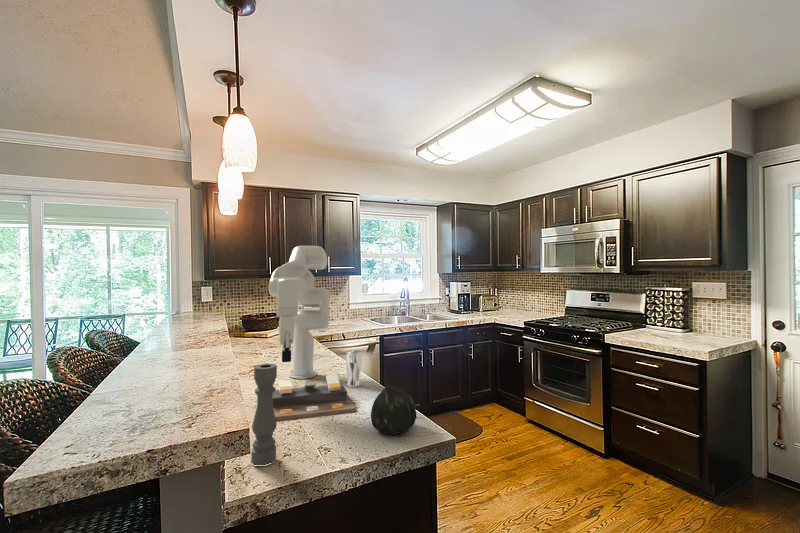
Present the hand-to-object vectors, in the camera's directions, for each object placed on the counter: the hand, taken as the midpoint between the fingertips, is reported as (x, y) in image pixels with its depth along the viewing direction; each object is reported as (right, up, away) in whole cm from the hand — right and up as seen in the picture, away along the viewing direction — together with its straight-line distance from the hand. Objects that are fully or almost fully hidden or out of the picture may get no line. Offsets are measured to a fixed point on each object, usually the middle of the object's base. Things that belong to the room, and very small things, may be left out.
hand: (286, 361), depth 136 cm
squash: (+40, -18, -18) cm, 47 cm away
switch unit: (+8, -17, +2) cm, 19 cm away
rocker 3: (+16, -10, +8) cm, 21 cm away
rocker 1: (-1, -10, +2) cm, 10 cm away
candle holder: (+6, -17, -39) cm, 43 cm away
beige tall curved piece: (+21, -18, +28) cm, 40 cm away
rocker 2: (+7, -10, +5) cm, 14 cm away
